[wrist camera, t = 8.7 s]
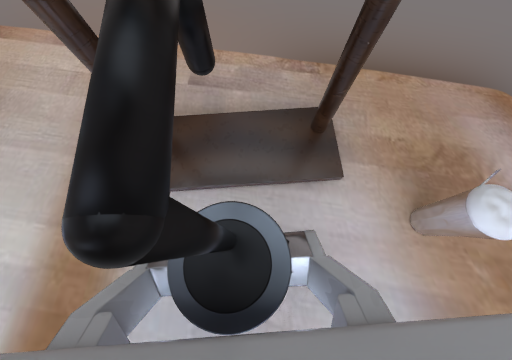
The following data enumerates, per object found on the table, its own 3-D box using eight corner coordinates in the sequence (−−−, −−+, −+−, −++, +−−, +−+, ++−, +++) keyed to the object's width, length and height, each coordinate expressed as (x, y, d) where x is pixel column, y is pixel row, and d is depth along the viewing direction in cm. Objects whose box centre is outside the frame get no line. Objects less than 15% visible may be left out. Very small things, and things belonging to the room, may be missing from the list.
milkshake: (426, 191, 26) (524, 160, 17) (451, 234, 25) (574, 227, 15) (393, 202, 26) (473, 177, 16) (416, 247, 24) (520, 248, 15)
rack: (340, 179, 27) (942, -304, 3) (148, 192, 26) (-739, -238, 3) (326, 111, 30) (590, -400, 6) (154, 122, 29) (-261, -373, 6)
